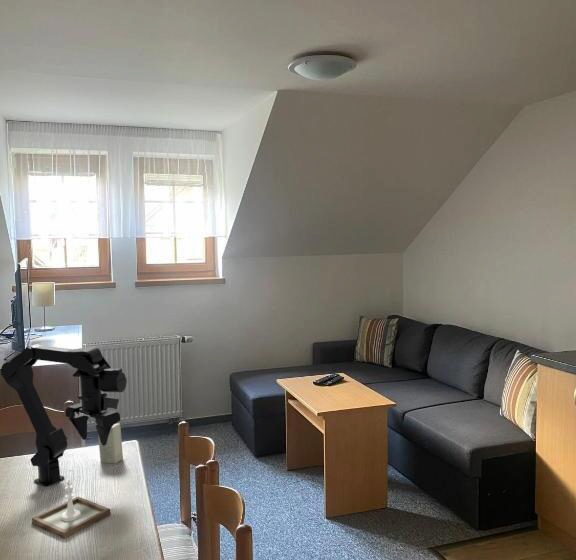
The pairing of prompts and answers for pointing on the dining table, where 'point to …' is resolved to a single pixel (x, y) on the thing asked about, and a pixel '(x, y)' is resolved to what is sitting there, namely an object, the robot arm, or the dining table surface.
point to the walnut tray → (67, 528)
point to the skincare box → (112, 446)
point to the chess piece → (70, 506)
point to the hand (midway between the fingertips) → (94, 442)
